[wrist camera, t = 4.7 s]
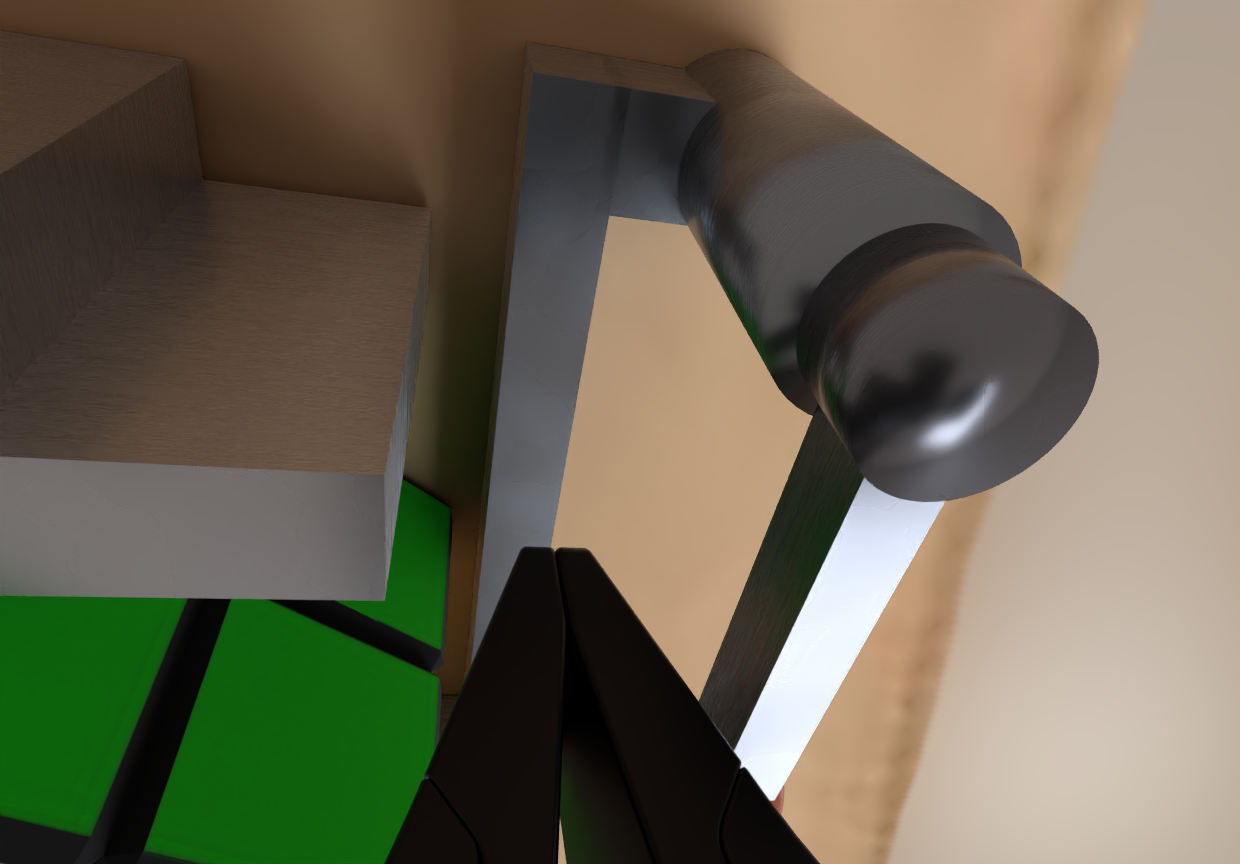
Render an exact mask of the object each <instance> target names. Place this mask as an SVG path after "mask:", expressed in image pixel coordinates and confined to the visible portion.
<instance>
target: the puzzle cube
mask: <svg viewBox="0 0 1240 864" xmlns="http://www.w3.org/2000/svg"><path fill="white" fill-rule="evenodd" d="M452 524H453V520H452V512H451V508H449V507H448V506H446V505H445V504H443V503H441V502H440V501H438V500H436V499H435V498H433V497H431V496H430V495H428V494H426V493H425V492H423V491H422V490H420V489H418V488H417V487H415V486H413V485H412V484H410V483H408V482H407V481H405V480H403V479H402V484H401V491H400V498H399V505H398V512H397V519H396V526H395V533H394V540H393V547H392V554H391V560H390V567H389V574H388V581H387V588H386V595H385V601H363V600H289V599H215V598H142V597H68V596H0V864H384V863H385V861H386V858H387V856H388V854H389V852H390V850H391V848H392V846H393V843H394V841H395V839H396V837H397V835H398V833H399V831H400V828H401V826H402V824H403V822H404V820H405V818H406V815H407V813H408V811H409V809H410V806H411V804H412V802H413V799H414V797H415V795H416V792H417V790H418V788H419V785H420V783H421V781H422V780H423V779H425V772H426V770H427V768H428V765H429V763H430V761H431V758H432V756H433V754H434V751H435V749H436V746H437V744H438V742H439V730H440V712H441V693H442V690H441V684H440V678H439V677H438V676H437V675H435V674H433V673H434V672H435V671H436V670H438V669H439V668H440V667H442V666H443V665H444V653H445V637H446V621H447V605H448V589H449V572H450V556H451V540H452Z"/></svg>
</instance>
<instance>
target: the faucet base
mask: <svg viewBox="0 0 1240 864" xmlns="http://www.w3.org/2000/svg"><path fill="white" fill-rule="evenodd" d="M609 215H610V216H617V217H625V218H633V219H641V220H649V221H656V222H664V223H672V224H680V225H688V227H689V229H690V230H691V232H692V234H693V236H694V237H695V239H696V241H697V243H698V245H699V246H700V248H701V250H702V252H703V254H704V255H705V257H706V259H707V261H708V263H709V264H710V266H711V268H712V270H713V272H714V273H715V275H716V277H717V279H718V281H719V282H720V284H721V286H722V288H723V290H724V291H725V293H726V295H727V297H728V299H729V300H730V302H731V304H732V306H733V308H734V309H735V311H736V313H737V315H738V317H739V318H740V320H741V322H742V324H743V326H744V327H745V329H746V331H747V333H748V335H749V336H750V338H751V340H752V342H753V344H754V345H755V347H756V349H757V351H758V353H759V354H760V356H761V358H762V360H763V362H764V363H765V365H766V367H767V369H768V371H769V372H770V374H771V376H772V378H773V379H774V381H775V383H776V385H777V386H778V388H779V390H780V391H781V392H782V393H783V394H784V396H785V397H786V398H787V399H788V400H789V401H790V402H792V403H793V404H794V405H795V406H796V407H798V408H799V409H801V410H802V411H804V412H806V413H807V414H810V415H812V416H813V415H814V412H815V410H816V407H817V405H818V402H817V401H816V399H815V397H814V396H813V394H812V392H811V391H810V389H809V388H808V386H807V384H806V382H805V381H804V379H803V377H802V375H801V372H800V369H799V366H798V361H797V355H796V340H797V333H798V328H799V324H800V321H801V317H802V314H803V312H804V310H805V307H806V305H807V303H808V301H809V299H810V298H811V296H812V294H813V292H814V291H815V289H816V288H817V287H818V285H819V284H820V283H821V281H822V280H823V278H824V277H825V276H826V275H827V274H828V273H829V272H830V271H831V270H832V269H833V267H834V266H835V265H837V264H838V263H839V262H840V261H841V260H842V259H843V258H844V257H846V256H847V255H848V254H850V253H851V252H852V251H854V250H855V249H856V248H858V247H859V246H861V245H863V244H864V243H866V242H868V241H869V240H871V239H873V238H875V237H877V236H880V235H882V234H884V233H886V232H889V231H892V230H895V229H898V228H901V227H905V226H910V225H915V224H925V223H940V224H949V225H953V226H958V227H961V228H963V229H966V230H968V231H971V232H972V233H974V234H976V235H977V236H979V237H981V238H982V239H983V240H985V241H986V242H987V243H989V244H990V245H991V246H993V247H994V248H995V249H997V250H998V251H999V252H1001V253H1002V254H1003V255H1005V256H1006V257H1007V258H1009V259H1010V260H1011V261H1013V262H1014V263H1015V264H1017V265H1018V266H1019V267H1021V268H1022V264H1021V254H1020V250H1019V246H1018V243H1017V240H1016V238H1015V236H1014V233H1013V231H1012V229H1011V227H1010V226H1009V225H1008V223H1007V222H1006V220H1005V219H1004V218H1003V216H1002V215H1001V214H1000V213H999V212H997V211H996V210H995V209H994V208H993V207H992V206H991V205H989V204H988V203H986V202H985V201H983V200H982V199H980V198H979V197H977V196H976V195H974V194H973V193H971V192H970V191H968V190H967V189H965V188H964V187H962V186H961V185H959V184H958V183H956V182H955V181H953V180H952V179H950V178H949V177H947V176H946V175H944V174H943V173H941V172H940V171H938V170H937V169H935V168H934V167H932V166H931V165H929V164H928V163H926V162H925V161H924V160H922V159H921V158H919V157H918V156H916V155H915V154H913V153H912V152H910V151H909V150H907V149H906V148H904V147H903V146H901V145H900V144H898V143H897V142H895V141H894V140H892V139H891V138H889V137H888V136H886V135H885V134H883V133H882V132H880V131H879V130H877V129H876V128H874V127H873V126H871V125H870V124H868V123H867V122H865V121H864V120H862V119H861V118H859V117H858V116H856V115H855V114H853V113H852V112H850V111H849V110H847V109H846V108H844V107H843V106H841V105H840V104H838V103H837V102H835V101H834V100H832V99H831V98H829V97H828V96H826V95H825V94H823V93H822V92H820V91H819V90H817V89H816V88H815V87H813V86H812V85H810V84H809V83H807V82H806V81H804V80H803V79H801V78H800V77H798V76H797V75H795V74H794V73H792V72H791V71H789V70H788V69H786V68H785V67H783V66H782V65H780V64H779V63H777V62H776V61H774V60H773V59H771V58H770V57H768V56H766V55H763V54H761V53H759V52H755V51H751V50H745V49H727V50H722V51H717V52H714V53H711V54H708V55H706V56H704V57H702V58H700V59H698V60H696V61H695V62H693V63H692V64H691V65H689V66H688V67H687V68H685V69H680V68H675V67H669V66H663V65H657V64H652V63H646V62H640V61H635V60H629V59H623V58H618V57H612V56H606V55H601V54H595V53H589V52H584V51H578V50H572V49H566V48H561V47H555V46H549V45H544V44H538V43H532V42H527V41H526V51H525V62H524V72H523V82H522V93H521V103H520V113H519V123H518V134H517V144H516V154H515V164H514V175H513V185H512V195H511V205H510V216H509V226H508V236H507V246H506V257H505V267H504V277H503V287H502V298H501V308H500V318H499V328H498V339H497V349H496V359H495V369H494V380H493V390H492V400H491V411H490V421H489V431H488V441H487V452H486V462H485V472H484V482H483V493H482V503H481V513H480V523H479V534H478V544H477V554H476V564H475V575H474V585H473V595H472V605H471V616H470V626H469V636H468V646H467V657H466V667H465V677H464V681H465V678H466V676H467V674H468V671H469V669H470V667H471V664H472V662H473V660H474V657H475V655H476V653H477V650H478V648H479V646H480V643H481V641H482V639H483V636H484V634H485V631H486V629H487V627H488V624H489V622H490V620H491V617H492V615H493V613H494V610H495V608H496V606H497V603H498V601H499V599H500V596H501V594H502V592H503V589H504V587H505V584H506V582H507V580H508V577H509V575H510V573H511V570H512V568H513V566H514V563H515V561H516V559H517V556H518V554H519V552H520V550H521V549H522V548H523V547H526V546H531V547H551V542H552V536H553V531H554V525H555V519H556V514H557V508H558V502H559V497H560V491H561V485H562V480H563V474H564V468H565V463H566V457H567V451H568V445H569V440H570V434H571V428H572V423H573V417H574V411H575V406H576V400H577V394H578V389H579V383H580V377H581V372H582V366H583V360H584V355H585V349H586V343H587V338H588V332H589V326H590V321H591V315H592V309H593V303H594V298H595V292H596V286H597V281H598V275H599V269H600V264H601V258H602V252H603V247H604V241H605V235H606V230H607V224H608V218H609ZM457 697H458V695H441V712H440V730H439V739H440V737H441V735H442V732H443V730H444V728H445V725H446V723H447V721H448V718H449V716H450V714H451V711H452V709H453V707H454V704H455V702H456V700H457Z"/></svg>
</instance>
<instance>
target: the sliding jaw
mask: <svg viewBox="0 0 1240 864" xmlns="http://www.w3.org/2000/svg"><path fill="white" fill-rule="evenodd" d="M430 227H431V208H427V207H419V206H410V205H402V204H394V203H386V202H378V201H370V200H362V199H354V198H346V197H338V196H330V195H322V194H314V193H306V192H298V191H290V190H282V189H274V188H265V187H257V186H249V185H241V184H233V183H225V182H217V181H209V180H203V177H202V170H201V163H200V156H199V149H198V142H197V134H196V127H195V120H194V113H193V106H192V99H191V92H190V85H189V78H188V70H187V63H186V59H181V58H175V57H168V56H162V55H155V54H149V53H142V52H136V51H130V50H123V49H117V48H110V47H104V46H97V45H91V44H85V43H78V42H72V41H65V40H59V39H52V38H46V37H39V36H33V35H27V34H20V33H14V32H7V31H1V30H0V596H68V597H142V598H215V599H289V600H363V601H385V595H386V588H387V581H388V574H389V567H390V560H391V554H392V547H393V540H394V533H395V526H396V519H397V512H398V505H399V498H400V491H401V484H402V477H403V471H404V464H405V457H406V450H407V443H408V436H409V429H410V422H411V415H412V408H413V401H414V394H415V387H416V381H417V374H418V367H419V360H420V353H421V346H422V339H423V332H424V325H425V318H426V311H427V304H428V284H429V256H430Z"/></svg>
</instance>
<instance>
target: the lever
mask: <svg viewBox="0 0 1240 864" xmlns="http://www.w3.org/2000/svg"><path fill="white" fill-rule="evenodd" d="M796 355H797V361H798V366H799V369H800V372H801V375H802V377H803V379H804V381H805V382H806V384H807V386H808V388H809V389H810V391H811V392H812V394H813V396H814V397H815V399H816V401H817V402H818V405H817V407H816V410H815V412H814V415H813V417H812V420H811V422H810V425H809V427H808V430H807V432H806V435H805V437H804V440H803V442H802V445H801V447H800V450H799V452H798V455H797V457H796V460H795V462H794V465H793V467H792V470H791V472H790V475H789V477H788V480H787V482H786V485H785V487H784V490H783V492H782V495H781V497H780V500H779V502H778V505H777V507H776V510H775V512H774V515H773V517H772V520H771V522H770V525H769V527H768V530H767V532H766V535H765V537H764V540H763V542H762V545H761V547H760V550H759V552H758V555H757V557H756V560H755V562H754V565H753V567H752V570H751V572H750V575H749V577H748V580H747V582H746V585H745V587H744V590H743V592H742V595H741V597H740V600H739V602H738V605H737V607H736V610H735V612H734V615H733V617H732V620H731V622H730V625H729V627H728V630H727V632H726V634H725V637H724V639H723V642H722V644H721V647H720V649H719V652H718V654H717V657H716V659H715V662H714V664H713V667H712V669H711V672H710V674H709V677H708V679H707V682H706V684H705V687H704V689H703V692H702V694H701V697H700V699H699V703H700V704H701V706H702V707H703V709H704V710H705V711H706V713H707V714H708V716H709V717H710V718H711V720H712V721H713V722H714V724H715V725H716V727H717V728H718V729H719V731H720V732H721V734H722V735H723V736H724V738H725V739H726V741H727V742H728V743H729V745H730V746H731V748H732V749H733V750H734V752H735V753H736V754H737V756H738V757H739V759H740V760H741V762H742V764H741V768H742V767H746V768H747V769H748V771H749V772H750V774H751V775H752V776H753V778H754V779H755V781H756V782H757V783H758V785H759V786H760V788H761V789H762V790H763V792H764V793H765V795H766V796H767V797H768V799H769V800H770V801H771V802H772V804H773V805H774V806H775V808H776V809H777V810H778V812H779V813H780V814H781V812H782V808H783V802H784V783H785V781H786V779H787V778H788V776H789V774H790V772H791V771H792V769H793V767H794V765H795V764H796V762H797V760H798V758H799V757H800V755H801V753H802V751H803V750H804V748H805V746H806V744H807V743H808V741H809V739H810V737H811V736H812V734H813V732H814V730H815V729H816V727H817V725H818V723H819V722H820V720H821V718H822V716H823V714H824V713H825V711H826V709H827V707H828V706H829V704H830V702H831V700H832V699H833V697H834V695H835V693H836V692H837V690H838V688H839V686H840V685H841V683H842V681H843V679H844V678H845V676H846V674H847V672H848V671H849V669H850V667H851V665H852V664H853V662H854V660H855V658H856V657H857V655H858V653H859V651H860V650H861V648H862V646H863V644H864V643H865V641H866V639H867V637H868V636H869V634H870V632H871V630H872V629H873V627H874V625H875V623H876V622H877V620H878V618H879V616H880V615H881V613H882V611H883V609H884V607H885V606H886V604H887V602H888V600H889V599H890V597H891V595H892V593H893V592H894V590H895V588H896V586H897V585H898V583H899V581H900V579H901V578H902V576H903V574H904V572H905V571H906V569H907V567H908V565H909V564H910V562H911V560H912V558H913V557H914V555H915V553H916V551H917V550H918V548H919V546H920V544H921V543H922V541H923V539H924V537H925V536H926V534H927V532H928V530H929V529H930V527H931V525H932V523H933V522H934V520H935V518H936V516H937V515H938V513H939V511H940V509H941V508H942V506H943V504H944V502H945V501H949V500H954V499H959V498H964V497H967V496H970V495H974V494H977V493H980V492H983V491H985V490H988V489H990V488H993V487H995V486H997V485H999V484H1001V483H1003V482H1005V481H1007V480H1009V479H1011V478H1012V477H1014V476H1016V475H1018V474H1019V473H1021V472H1023V471H1024V470H1025V469H1027V468H1028V467H1030V466H1031V465H1033V464H1034V463H1035V462H1037V461H1038V460H1039V459H1040V458H1042V457H1043V456H1044V455H1045V454H1046V453H1048V452H1049V451H1050V450H1051V449H1052V448H1053V447H1054V446H1055V445H1056V444H1057V443H1058V442H1059V441H1060V440H1061V439H1062V438H1063V437H1064V435H1065V434H1066V433H1067V432H1068V431H1069V430H1070V428H1071V427H1072V426H1073V424H1074V423H1075V422H1076V420H1077V419H1078V417H1079V416H1080V414H1081V412H1082V411H1083V409H1084V407H1085V406H1086V404H1087V401H1088V399H1089V397H1090V395H1091V393H1092V390H1093V387H1094V384H1095V380H1096V377H1097V371H1098V364H1099V352H1098V345H1097V341H1096V337H1095V335H1094V332H1093V330H1092V327H1091V326H1090V324H1089V323H1088V321H1087V320H1086V319H1085V317H1084V316H1083V315H1082V314H1081V313H1080V312H1079V311H1077V310H1076V309H1075V308H1074V307H1072V306H1071V305H1070V304H1069V303H1067V302H1066V301H1065V300H1063V299H1062V298H1061V297H1059V296H1058V295H1057V294H1055V293H1054V292H1053V291H1051V290H1050V289H1049V288H1047V287H1046V286H1045V285H1043V284H1042V283H1041V282H1039V281H1038V280H1037V279H1035V278H1034V277H1033V276H1031V275H1030V274H1029V273H1027V272H1026V271H1025V270H1023V269H1022V268H1021V267H1019V266H1018V265H1017V264H1015V263H1014V262H1013V261H1011V260H1010V259H1009V258H1007V257H1006V256H1005V255H1003V254H1002V253H1001V252H999V251H998V250H997V249H995V248H994V247H993V246H991V245H990V244H989V243H987V242H986V241H985V240H983V239H982V238H981V237H979V236H977V235H976V234H974V233H972V232H971V231H968V230H966V229H963V228H961V227H958V226H953V225H949V224H940V223H925V224H915V225H910V226H905V227H901V228H898V229H895V230H892V231H889V232H886V233H884V234H882V235H880V236H877V237H875V238H873V239H871V240H869V241H868V242H866V243H864V244H863V245H861V246H859V247H858V248H856V249H855V250H854V251H852V252H851V253H850V254H848V255H847V256H846V257H844V258H843V259H842V260H841V261H840V262H839V263H838V264H837V265H835V266H834V267H833V269H832V270H831V271H830V272H829V273H828V274H827V275H826V276H825V277H824V278H823V280H822V281H821V283H820V284H819V285H818V287H817V288H816V289H815V291H814V292H813V294H812V296H811V298H810V299H809V301H808V303H807V305H806V307H805V310H804V312H803V314H802V317H801V321H800V324H799V328H798V333H797V340H796ZM741 768H740V769H741Z"/></svg>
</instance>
